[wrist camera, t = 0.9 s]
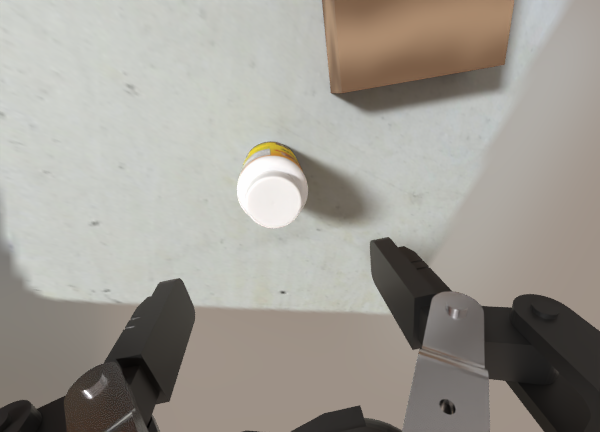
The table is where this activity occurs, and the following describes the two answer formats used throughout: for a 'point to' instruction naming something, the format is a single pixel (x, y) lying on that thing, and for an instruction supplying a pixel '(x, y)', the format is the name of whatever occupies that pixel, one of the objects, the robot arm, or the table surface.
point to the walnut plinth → (412, 39)
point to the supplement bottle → (272, 185)
